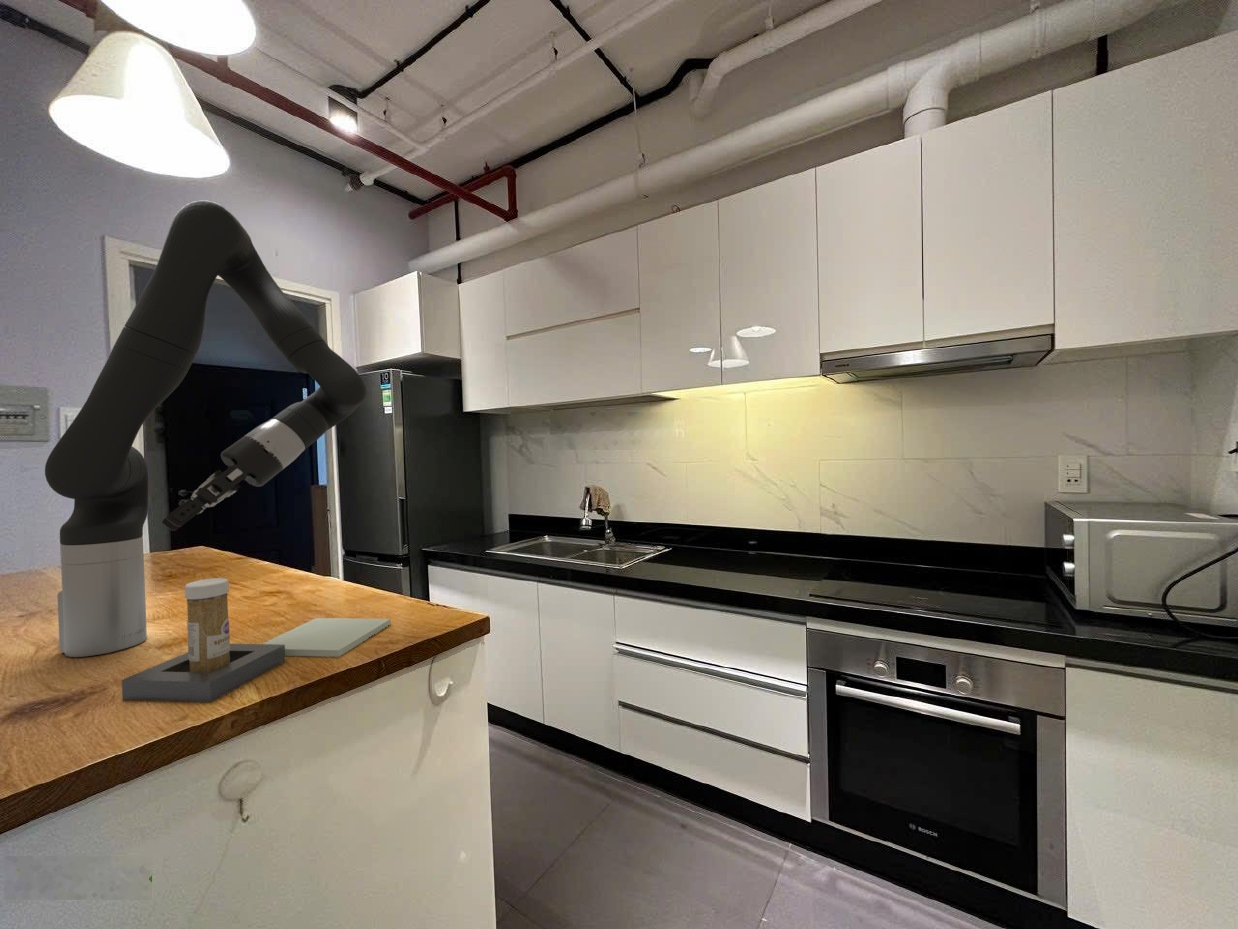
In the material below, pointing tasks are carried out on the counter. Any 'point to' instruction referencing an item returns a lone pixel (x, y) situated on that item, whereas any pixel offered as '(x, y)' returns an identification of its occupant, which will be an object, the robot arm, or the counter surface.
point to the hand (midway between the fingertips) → (169, 524)
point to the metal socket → (202, 675)
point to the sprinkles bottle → (208, 624)
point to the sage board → (328, 636)
